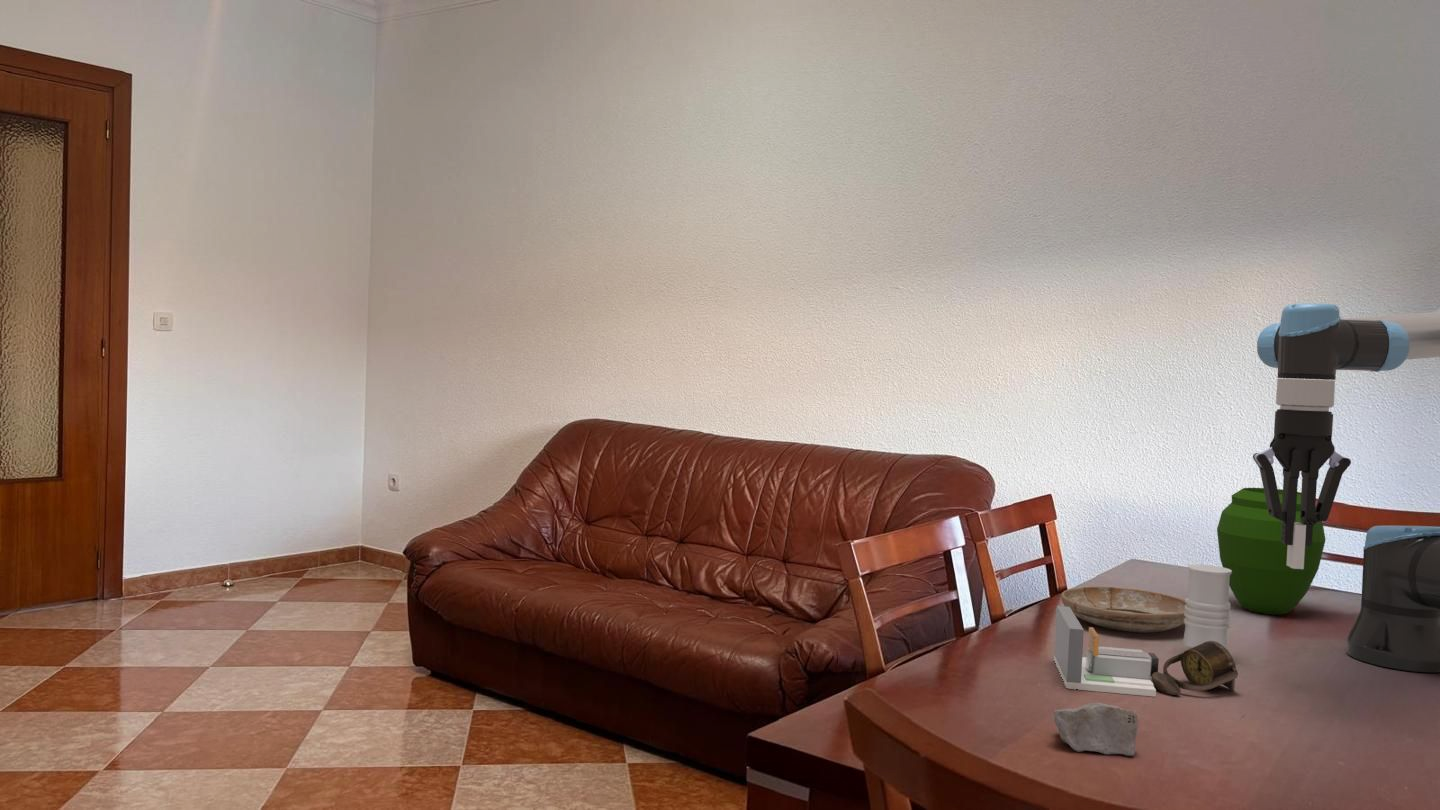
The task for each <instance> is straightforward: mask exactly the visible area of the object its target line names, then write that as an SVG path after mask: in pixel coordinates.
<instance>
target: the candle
mask: <svg viewBox="0 0 1440 810" xmlns="http://www.w3.org/2000/svg"><path fill="white" fill-rule="evenodd" d="M1186 568H1187V570H1188V583H1187V597H1185V598H1184V600H1185V602H1186V603H1187V604H1186V605H1185V609H1186V610H1187V611H1185V613H1184V616H1185V617H1186V618H1185V619H1184V624H1185V628H1184V634H1183V641H1182V643H1183V645H1185V646H1187V647H1188V649H1190V648H1193V647H1195V646H1198V645H1200V644H1202V643H1204V642H1207V641H1215V642H1218V643H1220V644H1221V645H1222V646H1224V647H1225V648H1226V649H1227V650H1228V633H1227V632H1228V631H1227V630H1228V629H1230V622H1231V621H1230V618H1231V616H1230V615H1231V605H1232V604H1231V602H1230V601H1229V596H1230V593H1229V592H1230V591H1229V590H1230V586H1229V580H1230V574H1232V570H1230V569H1228V568H1224V567H1223V566H1219V565H1212V564H1198V563H1197V564H1188V565H1187V567H1186ZM1188 649H1187V650H1188Z"/></svg>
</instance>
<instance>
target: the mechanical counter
mask: <svg viewBox="0 0 1440 810" xmlns="http://www.w3.org/2000/svg"><path fill="white" fill-rule="evenodd" d="M1178 662H1180V664H1181V665H1180V666H1181V668H1182V671H1183V673H1184V675H1185V677H1186V679H1187V680H1188V682H1189V683H1187V682H1184V681H1181V680H1178V679H1177V678H1175V677H1174V676H1172V675H1171V674H1170V673H1169V672H1168V668H1169V667H1170V666H1171V665H1173V664H1176V663H1178ZM1236 666H1237V665H1236V662H1235V661H1234V658H1233V656H1232V655H1231V653H1230V651H1229V650H1228V648H1227V649H1226V648H1225V647H1224V646H1222V645H1221V644H1220V643H1218V642H1215V641H1207V642H1204V643H1202V644H1200V645H1198V646H1195V647H1193V648H1190V649H1186V650H1184V651H1183V652H1182V653H1180V654H1177V655H1175V656H1172V657H1169V658H1168V659H1167V660H1166V661H1165V662H1164V664H1163V668H1162V669H1163V670H1162V672H1163V673H1162V672H1159V671H1158V672H1154V673H1153V674H1152V676H1151V681H1152V683H1153V684H1154V687H1156V690H1157V689H1158V691H1159V692H1161V693H1164V694H1166V695H1171V696H1178V695H1180V694H1181V693H1182V691H1181V689H1182V690H1187V691H1191V692H1193V691H1195V692H1197V691H1198V692H1200V691H1201V692H1203V691H1210V690H1213V689H1214V688H1217V687H1219V686H1221V685H1223V686H1224V687H1226V688H1228V689H1229V690H1231V691H1234V690H1235V688H1236V687H1235V686H1236V685H1235V684H1236V679H1237V678H1238V676H1239V672H1238V670H1237V667H1236Z"/></svg>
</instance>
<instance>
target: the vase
mask: <svg viewBox="0 0 1440 810" xmlns="http://www.w3.org/2000/svg"><path fill="white" fill-rule="evenodd" d="M1277 489H1278V494H1279V499H1280V504H1281V509H1282V495H1283V489H1282V488H1281V489H1279V488H1277ZM1300 508H1301V492H1300V491H1297V504H1296V520H1295V522H1297V523H1301V520H1300ZM1281 532H1282V522H1281V520H1279V519H1277V518H1274V517H1272V516H1270V515H1269V513H1268V508H1267V503H1266V498H1265V493H1264V488H1263V487H1243V488H1241V489H1240V490H1238V491H1236V492H1235V493H1232V495H1231V502H1230V503H1229V504H1228V505H1227V506H1226V507H1225V508H1224V509H1223V510H1222V511H1221V514H1220V517H1219V521H1218V524H1217V527H1216V533H1217V534H1216V535H1217V541H1218V551H1219V552H1218V553H1219V560H1220V562H1221V565H1222V566H1221V567H1224V568H1228V569H1230V570H1232V574H1230V580H1229V589H1230V590H1231V592H1232V593H1233V595H1234V597H1235V599H1236V600H1237V601H1238V602H1239V604H1240V605H1241V606H1242V607H1243V608H1244V609H1246V610H1247V611H1250V612H1253V613H1257V614H1262V615H1271V616H1272V615H1273V616H1277V615H1278V616H1281V615H1285V614H1288V613H1290V612H1291V611H1293V609H1295V607H1297V606H1298V605H1299V603H1300V602H1301V601H1302V599H1303V598H1304V597H1305V596H1306V595H1307V593H1308V591H1309V590H1310V587H1311V585H1312V584H1313V582H1314V579H1315V577H1316V575H1317V573H1318V570H1319V568H1320V565H1321V564H1320V563H1321V560H1322V556H1323V552H1324V548H1325V544H1326V535H1325V533H1326V532H1325V529H1324V521H1321V522H1317V523H1316V524H1315V525H1314V526H1313V535H1312V544H1311V546H1305V554H1304V569H1293V568H1291V567H1289V566H1287V565H1286V564H1287V547H1288V545H1285V544H1283V543H1282V541H1281Z"/></svg>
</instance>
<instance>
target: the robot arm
mask: <svg viewBox="0 0 1440 810" xmlns="http://www.w3.org/2000/svg"><path fill="white" fill-rule="evenodd" d="M1280 316H1281V317H1280V322H1277V323H1271V324H1268V325H1267V326H1266V327H1264V328H1263V329H1262V331H1261V332H1260V333H1259V335H1258V337H1257V341H1256V348H1257V349H1256V351H1257V352H1256V353H1257V356H1258V358H1259V359H1260V360H1261V362H1262V363H1263V364H1264V365H1265V366H1267V367H1269V368H1275V369H1277V380H1276V396H1275V404H1276V405H1277V406H1279V407H1280V408H1279V409H1278V408H1277V409H1276V411H1275V412H1274V427H1273V438H1272V440H1271V442H1270V444H1269V447H1268V448H1267V449H1264V450H1263V451H1261V452H1260V453H1259V452H1255V453H1254V454H1252V458H1253V460H1254V462H1255V464H1256V465H1257V467H1258V468H1259V472H1260V477H1261V481H1262V482H1261V483H1262V486H1263V487H1262V488H1264V493H1265V498H1266V503H1267V508H1268V513H1269V515H1270V516H1272V517H1274V518H1277V519H1279V520H1281V522H1282V532H1281V541H1282V543H1283V544H1285V545H1288V547H1287V564H1286V565H1287V566H1289V567H1291V568H1293V569H1304V554H1305V546H1311V544H1312V535H1313V526H1314V525H1315V524H1316V523H1317V522H1321V521H1322V522H1326V521H1327V520H1328V519H1329V516H1330V513H1331V510H1332V507H1333V506H1334V500H1336V499H1335V498H1336V496H1337V492H1338V488H1339V486H1340V483H1341V480H1342V477H1343V474H1344V473H1345V471H1346V470H1347V469H1348V468H1349V467H1350V465H1351V464H1352V461H1351V460H1352V459H1350V458H1348V457H1344V456H1343V455H1342V454H1339V453H1338V452H1336V449H1335V448H1336V447H1335V445H1334V443H1333V441H1332V439H1333V438H1332V437H1333V425H1334V413H1333V412H1332V411H1330V408H1333V407H1334V406H1335V391H1336V390H1335V389H1336V378H1337V377H1336V375H1337V371H1364V372H1365V371H1368V372H1375V373H1378V372H1381V371H1382V372H1388V371H1394V370H1395V369H1397V368H1399V367H1400V366H1401V365H1403V364H1404V362H1405V361H1407V360H1418V359H1432V358H1439V359H1440V308H1438V309H1437V310H1436V311H1433V312H1432V311H1431V312H1419V313H1415V312H1414V313H1402V314H1391V315H1377V316H1364V317H1361V316H1360V317H1352V318H1351V317H1350V318H1341V316H1340V308H1339V307H1338V306H1337V305H1336V304H1333V303H1332V304H1331V303H1308V302H1307V303H1291V304H1288V305H1286V306H1285V307H1284V308H1283V309H1282V311H1281V315H1280ZM1274 458H1276V460H1277V462H1278V463H1279V464H1280V466H1281V467H1282V475H1283V481H1282V483H1283V484H1282V490H1283V495H1282V509H1281V504H1280V499H1279V494H1278V489H1279V488H1278V485H1277V480H1276V475H1275V470H1274V468H1273V464H1274V461H1275V460H1274ZM1327 462H1328V466H1329V467H1328V470H1327V471H1326V474H1325V477H1324V480H1323V484H1322V486H1321V489H1320V492H1319V494H1318V499H1317V485H1318V484H1317V483H1318V479H1319V476H1320V475H1319V473H1320V472H1319V471H1320V469H1321V468H1322V467H1323V466H1324V465H1325V464H1326V463H1327ZM1300 475H1301V508H1300V520H1301V523H1297V522H1295V520H1296V504H1297V492H1298V486H1299V485H1298V484H1299V478H1300ZM1316 499H1317V500H1316ZM1316 501H1317V502H1316ZM1362 551H1363V560H1362V577H1361V578H1362V581H1361V603H1360V610H1359V613H1358V615H1357V617H1356V619H1355V621H1354V622H1353V623H1354V624H1353V626H1352V628H1351V630H1350V632H1349V634H1348V636H1347V638H1346V648H1345V649H1346V650H1345V651H1346V652H1345V653H1346V654H1347V655H1349V656H1350V657H1352V658H1354V659H1355V660H1358V661H1362V662H1365V663H1367V664H1371V665H1374V666H1375V665H1376V666H1380V667H1384V668H1388V669H1395V670H1401V671H1407V672H1419V673H1440V526H1431V525H1430V526H1427V525H1426V526H1425V525H1374V526H1372V527H1370V528H1369V529H1368V530H1367V531H1366V535H1365V541H1364V546H1363V550H1362Z"/></svg>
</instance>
